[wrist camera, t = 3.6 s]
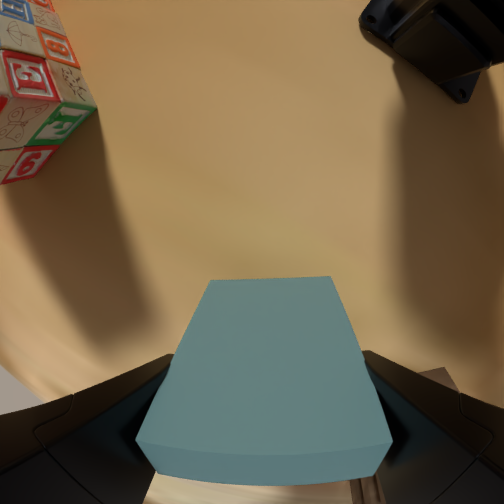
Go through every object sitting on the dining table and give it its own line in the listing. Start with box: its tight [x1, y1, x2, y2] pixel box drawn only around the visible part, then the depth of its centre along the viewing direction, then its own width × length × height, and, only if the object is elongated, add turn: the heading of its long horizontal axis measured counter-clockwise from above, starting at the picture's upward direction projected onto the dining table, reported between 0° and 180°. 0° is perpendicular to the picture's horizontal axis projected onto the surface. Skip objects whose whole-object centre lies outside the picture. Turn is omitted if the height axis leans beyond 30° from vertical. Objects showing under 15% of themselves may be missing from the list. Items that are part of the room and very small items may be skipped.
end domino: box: [135, 276, 393, 486], centre depth 8 cm, size 2×5×8 cm, turn 93°
